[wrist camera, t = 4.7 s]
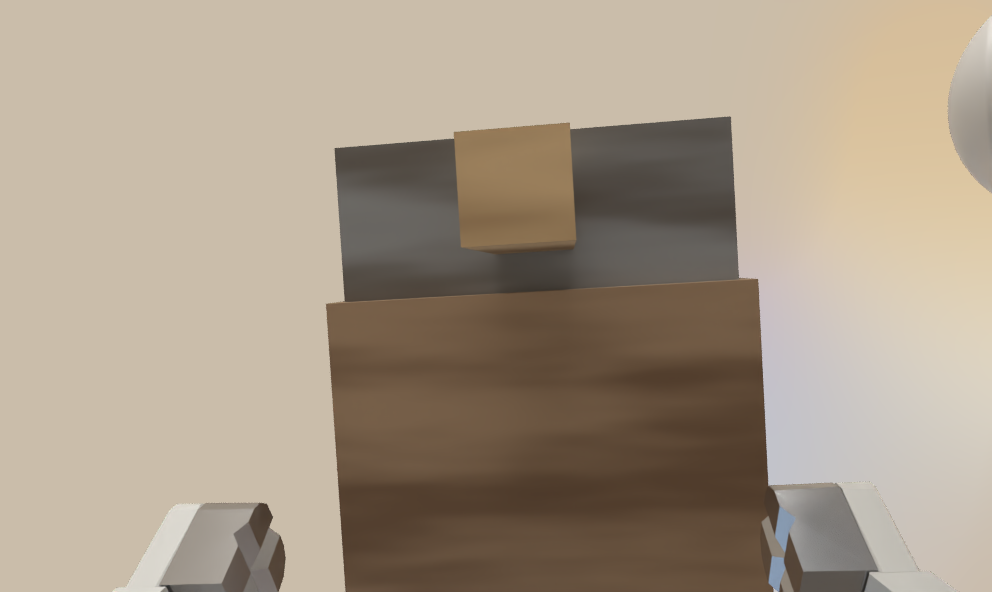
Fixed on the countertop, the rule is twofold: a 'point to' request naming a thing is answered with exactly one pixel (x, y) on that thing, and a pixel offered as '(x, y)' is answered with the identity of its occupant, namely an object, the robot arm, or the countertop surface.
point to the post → (552, 440)
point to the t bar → (538, 210)
